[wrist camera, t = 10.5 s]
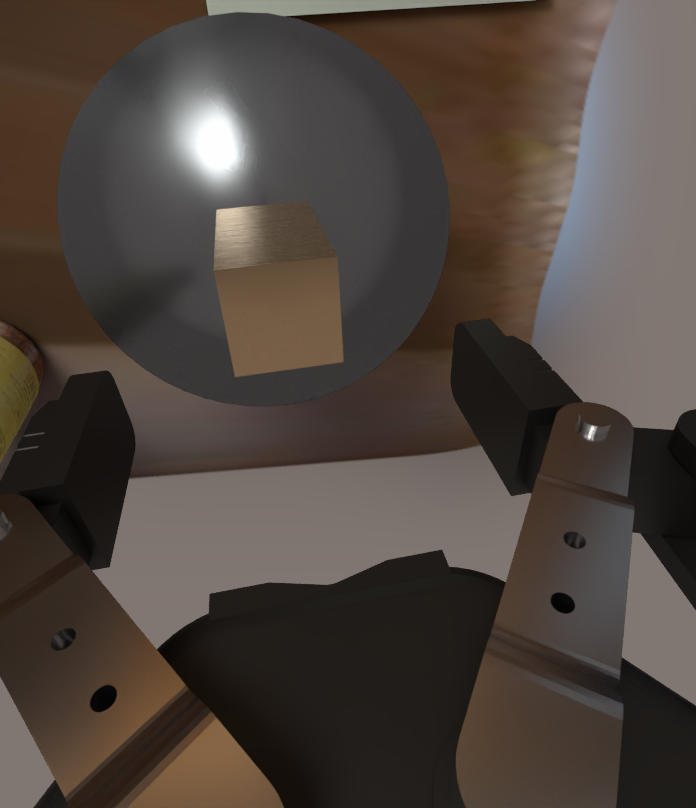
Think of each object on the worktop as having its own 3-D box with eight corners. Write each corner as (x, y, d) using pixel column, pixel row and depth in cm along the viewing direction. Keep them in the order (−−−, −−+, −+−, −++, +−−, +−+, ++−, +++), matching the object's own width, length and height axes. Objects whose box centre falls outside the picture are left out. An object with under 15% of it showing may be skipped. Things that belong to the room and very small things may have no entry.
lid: (-12, 24, 15) (-154, 11, 9) (456, 3, 16) (571, -18, 11) (130, 417, 23) (100, 535, 17) (433, 373, 25) (492, 467, 19)
